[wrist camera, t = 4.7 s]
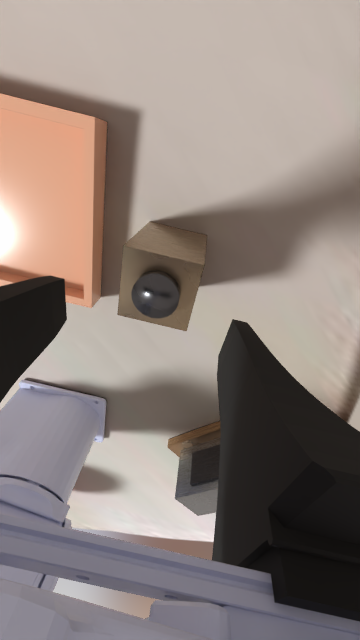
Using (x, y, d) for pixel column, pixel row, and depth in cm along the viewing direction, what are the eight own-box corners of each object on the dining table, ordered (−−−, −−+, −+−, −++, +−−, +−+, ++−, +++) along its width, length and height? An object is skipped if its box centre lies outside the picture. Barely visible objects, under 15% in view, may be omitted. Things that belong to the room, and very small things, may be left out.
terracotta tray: (-39, 264, 20) (-59, 272, 19) (-93, 72, 14) (-130, 60, 13) (100, 297, 21) (91, 307, 19) (107, 122, 14) (94, 117, 13)
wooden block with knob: (142, 275, 19) (113, 321, 14) (150, 221, 17) (118, 249, 11) (193, 287, 19) (185, 338, 14) (207, 235, 17) (204, 270, 11)
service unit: (168, 439, 30) (159, 495, 25) (279, 399, 24) (297, 460, 19) (201, 468, 32) (199, 524, 27) (309, 438, 27) (331, 501, 22)
